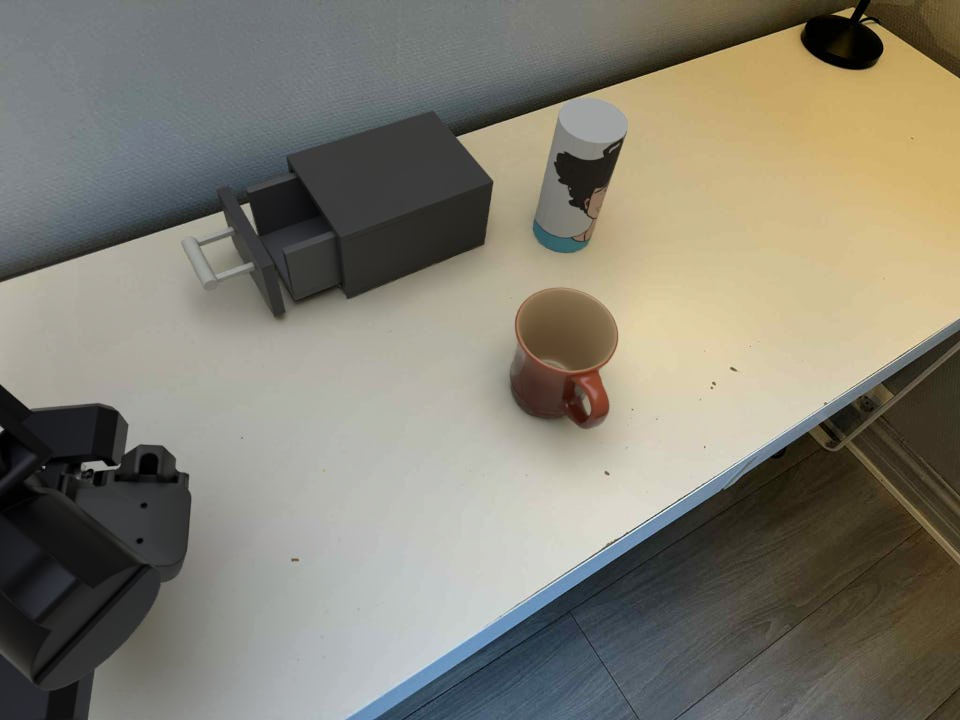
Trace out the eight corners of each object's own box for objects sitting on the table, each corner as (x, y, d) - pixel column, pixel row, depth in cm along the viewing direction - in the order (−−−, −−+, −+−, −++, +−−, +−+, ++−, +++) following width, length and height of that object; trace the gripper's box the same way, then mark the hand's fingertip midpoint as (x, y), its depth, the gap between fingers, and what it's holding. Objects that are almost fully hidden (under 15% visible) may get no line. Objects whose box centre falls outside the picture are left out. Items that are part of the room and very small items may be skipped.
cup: (584, 259, 73) (621, 150, 61) (526, 242, 74) (551, 131, 61) (596, 218, 77) (633, 108, 64) (540, 203, 78) (566, 90, 65)
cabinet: (347, 299, 67) (340, 237, 60) (298, 221, 72) (285, 155, 65) (484, 244, 73) (494, 181, 66) (430, 175, 78) (433, 110, 71)
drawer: (225, 337, 62) (205, 288, 56) (185, 258, 67) (163, 206, 61) (415, 261, 70) (416, 211, 64) (367, 195, 74) (364, 142, 68)
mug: (486, 365, 65) (498, 300, 56) (566, 342, 67) (589, 277, 58) (536, 473, 59) (559, 420, 50) (621, 444, 61) (656, 388, 53)
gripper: (134, 699, 28) (218, 727, 42) (172, 342, 38) (231, 455, 51) (-162, 745, 27) (24, 758, 40) (-43, 357, 36) (75, 470, 49)
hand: (102, 592), depth 45 cm, fingers closed on block, 4 cm apart
